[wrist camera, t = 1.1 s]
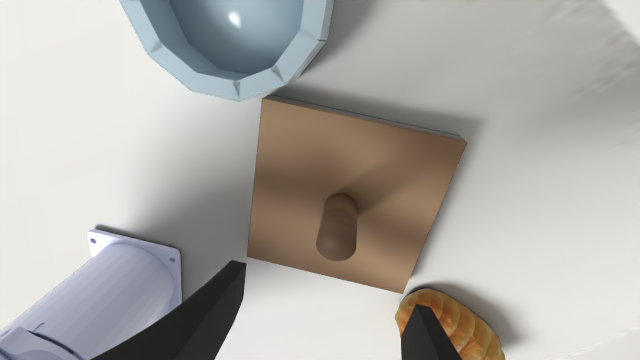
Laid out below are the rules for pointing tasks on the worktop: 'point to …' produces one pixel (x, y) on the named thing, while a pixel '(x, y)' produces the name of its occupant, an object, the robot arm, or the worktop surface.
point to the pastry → (454, 324)
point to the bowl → (231, 41)
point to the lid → (346, 193)
